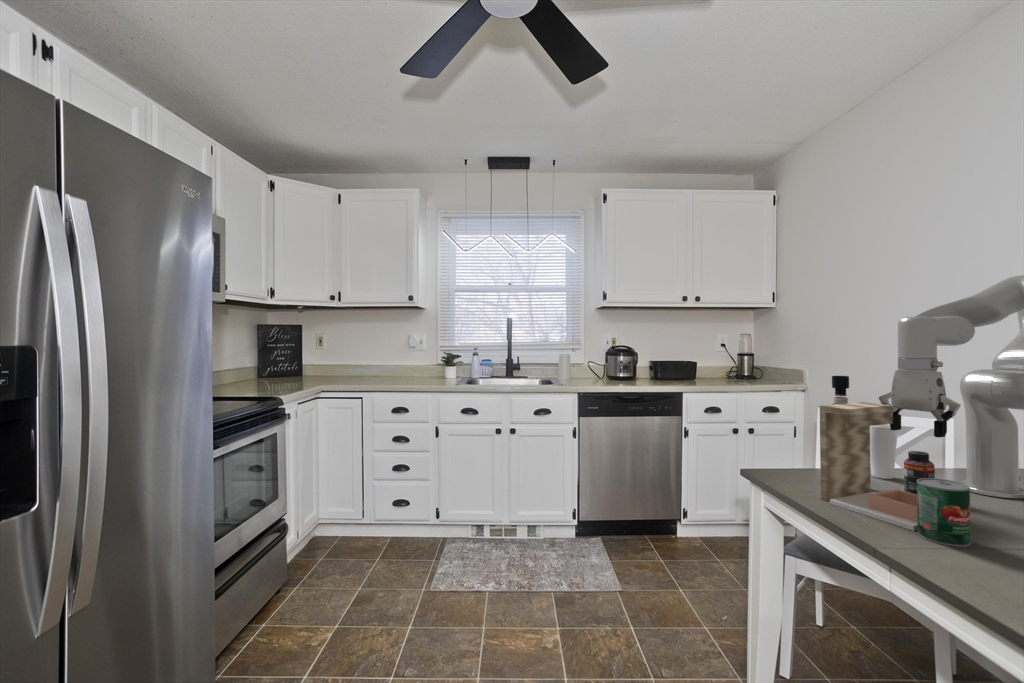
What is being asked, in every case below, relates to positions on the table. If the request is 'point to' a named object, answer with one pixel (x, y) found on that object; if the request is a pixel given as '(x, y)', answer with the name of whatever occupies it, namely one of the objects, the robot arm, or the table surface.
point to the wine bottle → (840, 388)
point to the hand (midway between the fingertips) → (916, 433)
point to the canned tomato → (943, 511)
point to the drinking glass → (882, 451)
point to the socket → (884, 506)
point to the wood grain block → (848, 446)
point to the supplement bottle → (917, 470)
